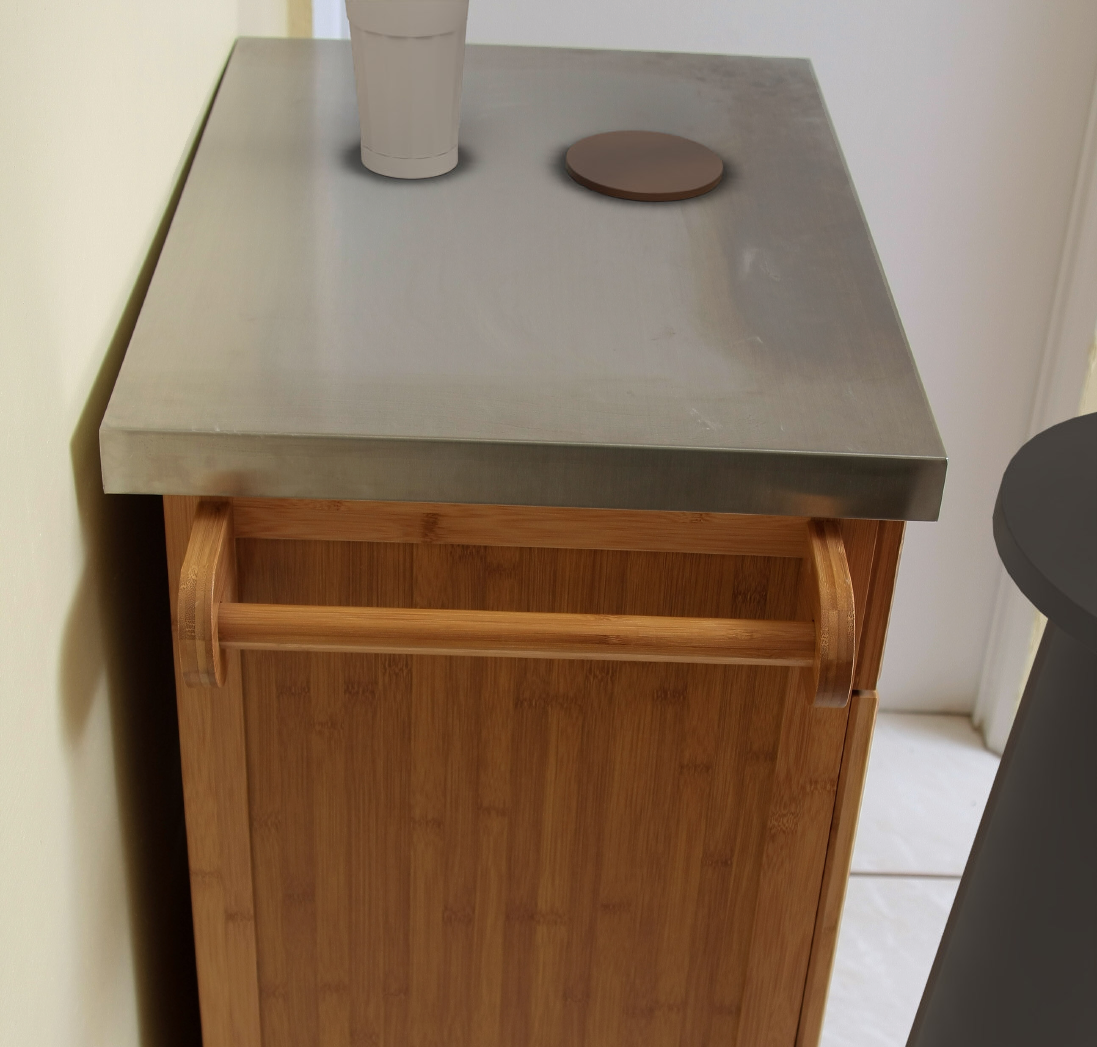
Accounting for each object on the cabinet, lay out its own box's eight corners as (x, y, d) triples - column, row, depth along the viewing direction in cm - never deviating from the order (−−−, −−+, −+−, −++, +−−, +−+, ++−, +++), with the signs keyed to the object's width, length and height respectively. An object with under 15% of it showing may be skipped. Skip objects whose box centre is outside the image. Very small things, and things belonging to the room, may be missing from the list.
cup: (384, 127, 112) (379, -66, 103) (490, 150, 110) (493, -46, 101) (326, 168, 106) (315, -34, 97) (437, 192, 104) (435, -11, 95)
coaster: (751, 167, 110) (752, 159, 109) (665, 215, 103) (666, 206, 102) (624, 126, 114) (625, 118, 114) (534, 170, 107) (534, 161, 107)
